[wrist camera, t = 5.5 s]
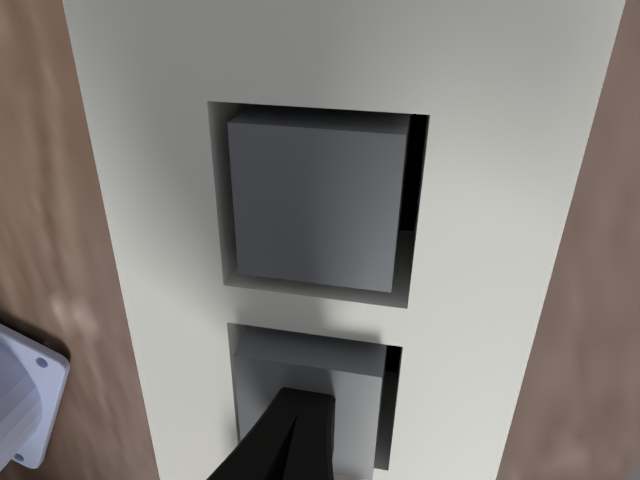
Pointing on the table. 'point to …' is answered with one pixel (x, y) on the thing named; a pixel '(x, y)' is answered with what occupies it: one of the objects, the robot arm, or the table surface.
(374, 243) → the grey button
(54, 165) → the table surface
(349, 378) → the grey button
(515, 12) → the button panel
